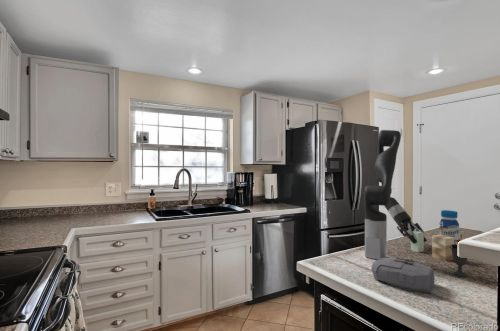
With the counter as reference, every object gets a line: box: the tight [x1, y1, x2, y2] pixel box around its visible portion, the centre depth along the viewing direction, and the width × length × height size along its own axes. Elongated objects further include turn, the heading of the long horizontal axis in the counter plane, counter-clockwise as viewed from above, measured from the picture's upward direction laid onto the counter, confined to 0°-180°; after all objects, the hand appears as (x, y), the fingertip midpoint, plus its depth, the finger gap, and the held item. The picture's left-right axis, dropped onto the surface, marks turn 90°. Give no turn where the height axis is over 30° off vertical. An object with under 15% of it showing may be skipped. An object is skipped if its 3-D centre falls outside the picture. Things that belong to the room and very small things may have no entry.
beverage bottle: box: [438, 209, 461, 242], centre depth 136 cm, size 8×8×20 cm
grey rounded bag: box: [371, 257, 436, 294], centre depth 96 cm, size 15×8×20 cm
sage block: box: [410, 230, 425, 253], centre depth 135 cm, size 4×4×10 cm
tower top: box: [431, 234, 454, 250], centre depth 123 cm, size 6×6×5 cm
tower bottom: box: [431, 246, 454, 262], centre depth 123 cm, size 6×6×5 cm
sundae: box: [450, 234, 469, 278], centre depth 104 cm, size 7×7×15 cm
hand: (420, 242), depth 133 cm, fingers open, 6 cm apart
